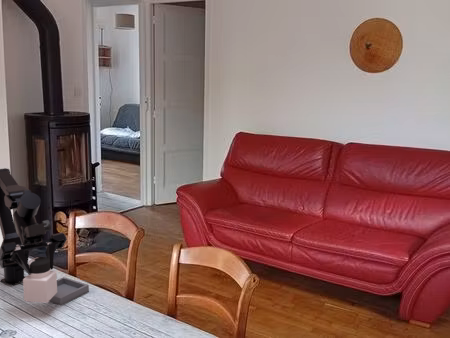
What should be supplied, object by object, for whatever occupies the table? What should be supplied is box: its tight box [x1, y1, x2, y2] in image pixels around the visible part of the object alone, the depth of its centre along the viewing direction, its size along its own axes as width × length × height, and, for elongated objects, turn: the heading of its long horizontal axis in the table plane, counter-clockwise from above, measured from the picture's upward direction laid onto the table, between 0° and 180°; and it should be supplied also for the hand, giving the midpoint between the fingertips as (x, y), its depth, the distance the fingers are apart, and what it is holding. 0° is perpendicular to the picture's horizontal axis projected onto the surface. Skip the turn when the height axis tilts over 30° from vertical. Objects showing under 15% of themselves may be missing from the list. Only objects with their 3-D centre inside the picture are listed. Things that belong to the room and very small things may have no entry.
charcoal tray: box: [48, 276, 90, 307], centre depth 161 cm, size 12×12×2 cm
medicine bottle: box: [22, 256, 58, 304], centre depth 148 cm, size 7×7×12 cm
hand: (41, 271), depth 146 cm, fingers closed on medicine bottle, 6 cm apart
